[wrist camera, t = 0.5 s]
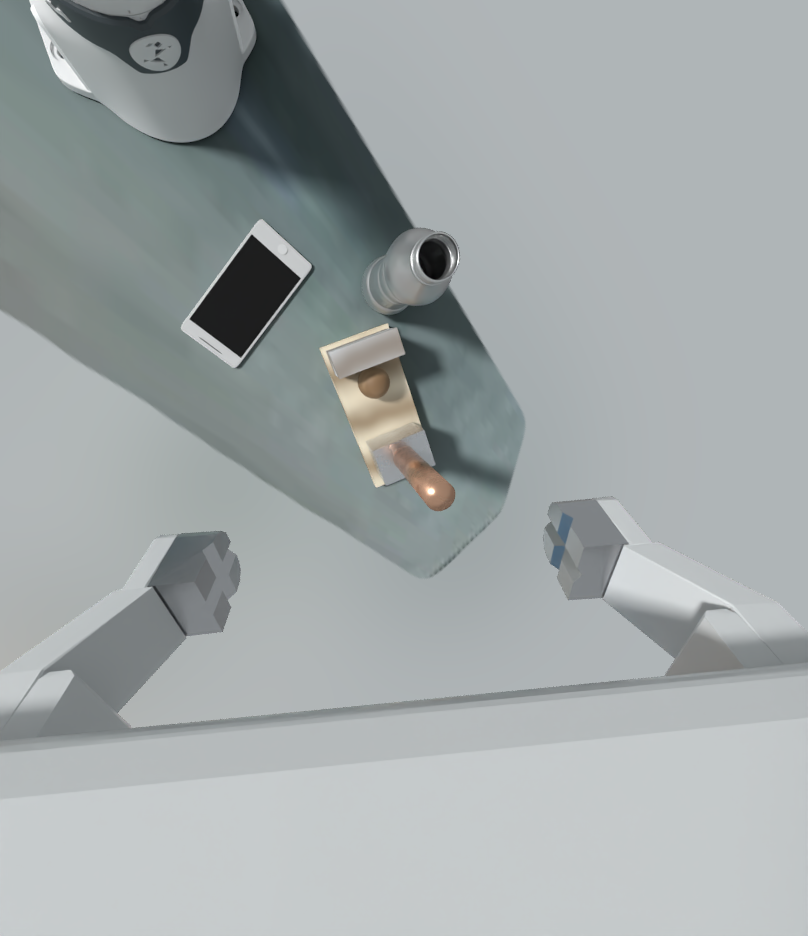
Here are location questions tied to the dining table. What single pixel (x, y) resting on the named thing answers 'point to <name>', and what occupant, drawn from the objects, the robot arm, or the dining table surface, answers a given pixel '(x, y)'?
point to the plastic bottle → (411, 271)
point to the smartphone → (247, 294)
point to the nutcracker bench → (360, 410)
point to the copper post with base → (411, 464)
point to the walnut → (373, 382)
